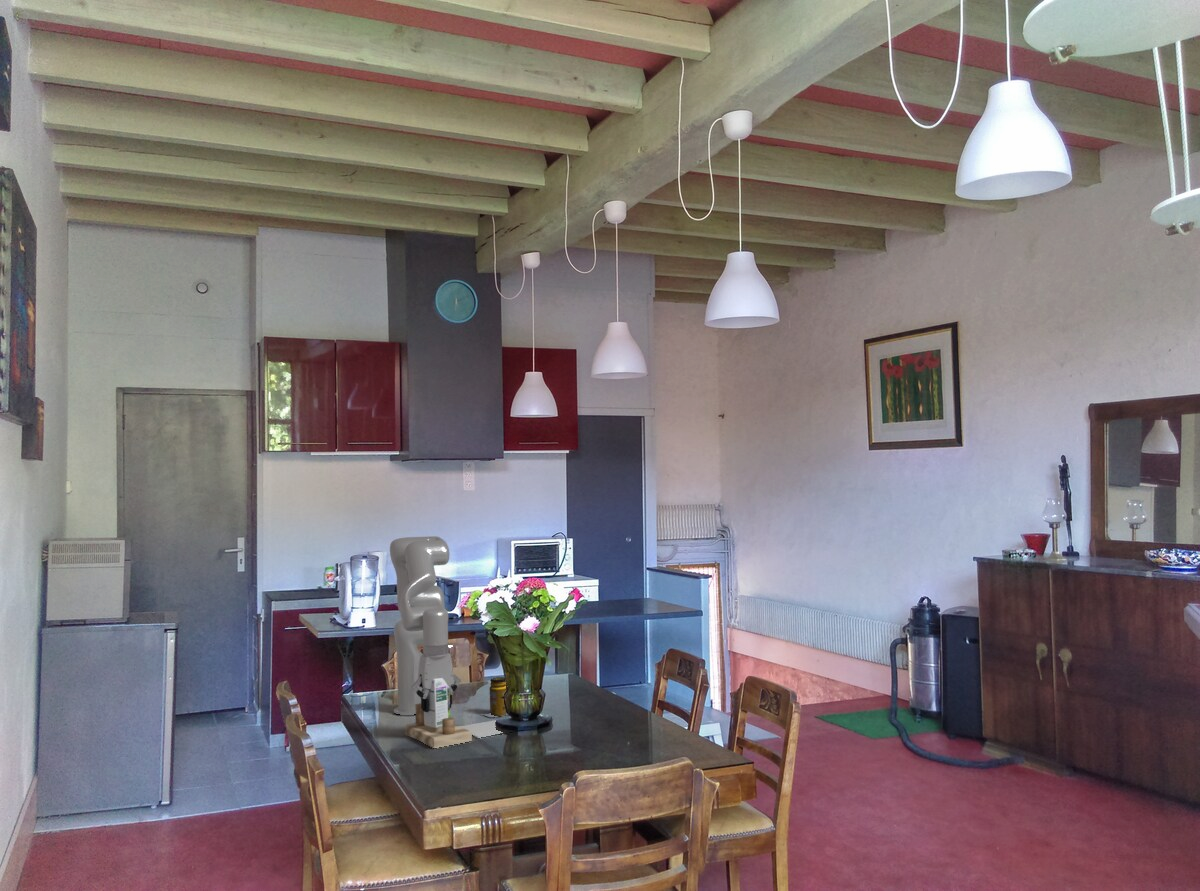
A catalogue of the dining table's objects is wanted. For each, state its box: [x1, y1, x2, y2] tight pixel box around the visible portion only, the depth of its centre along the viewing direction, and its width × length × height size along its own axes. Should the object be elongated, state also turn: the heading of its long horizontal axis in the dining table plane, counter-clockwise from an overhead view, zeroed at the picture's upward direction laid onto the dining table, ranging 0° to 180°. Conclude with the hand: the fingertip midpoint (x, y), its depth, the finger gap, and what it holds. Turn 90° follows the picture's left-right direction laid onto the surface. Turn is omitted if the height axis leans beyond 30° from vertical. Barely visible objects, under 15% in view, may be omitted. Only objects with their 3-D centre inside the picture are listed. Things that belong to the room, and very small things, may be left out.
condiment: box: [480, 676, 507, 717], centre depth 313 cm, size 7×8×12 cm
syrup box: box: [424, 678, 451, 728], centre depth 285 cm, size 6×6×14 cm
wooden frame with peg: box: [404, 703, 473, 749], centre depth 284 cm, size 22×12×9 cm, turn 33°
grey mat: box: [459, 719, 503, 739], centre depth 292 cm, size 16×16×1 cm
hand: (436, 708), depth 285 cm, fingers closed on syrup box, 6 cm apart
